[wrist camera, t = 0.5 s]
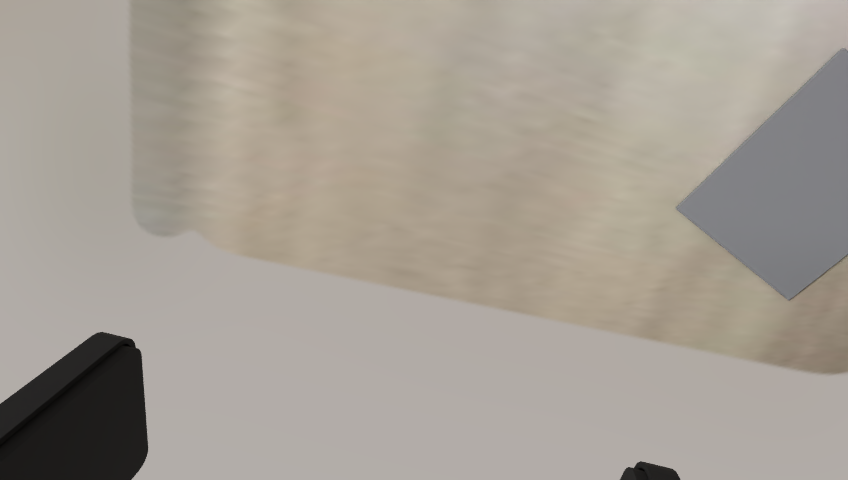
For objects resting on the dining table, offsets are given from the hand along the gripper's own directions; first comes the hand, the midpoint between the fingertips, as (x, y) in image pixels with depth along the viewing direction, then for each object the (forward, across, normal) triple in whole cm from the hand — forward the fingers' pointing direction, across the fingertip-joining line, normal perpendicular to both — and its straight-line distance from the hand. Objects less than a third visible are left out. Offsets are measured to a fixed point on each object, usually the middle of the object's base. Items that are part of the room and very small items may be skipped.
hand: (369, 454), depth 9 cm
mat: (+31, -25, -2) cm, 40 cm away
